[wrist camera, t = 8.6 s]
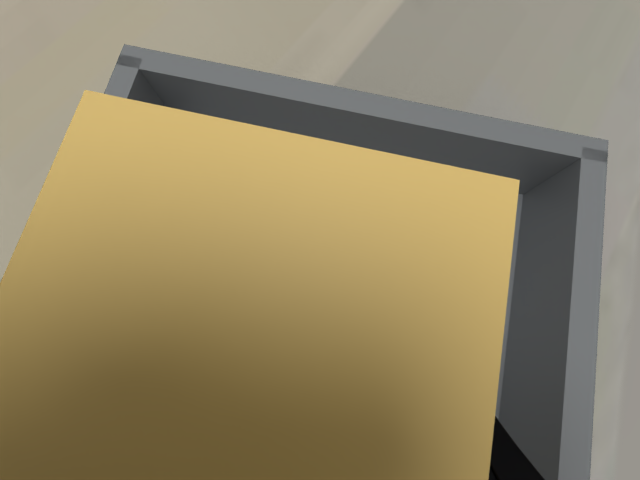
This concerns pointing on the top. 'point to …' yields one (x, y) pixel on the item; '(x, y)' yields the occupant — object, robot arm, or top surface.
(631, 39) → the top surface
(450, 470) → the ochre block
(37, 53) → the top surface
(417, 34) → the top surface
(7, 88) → the top surface
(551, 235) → the open box
